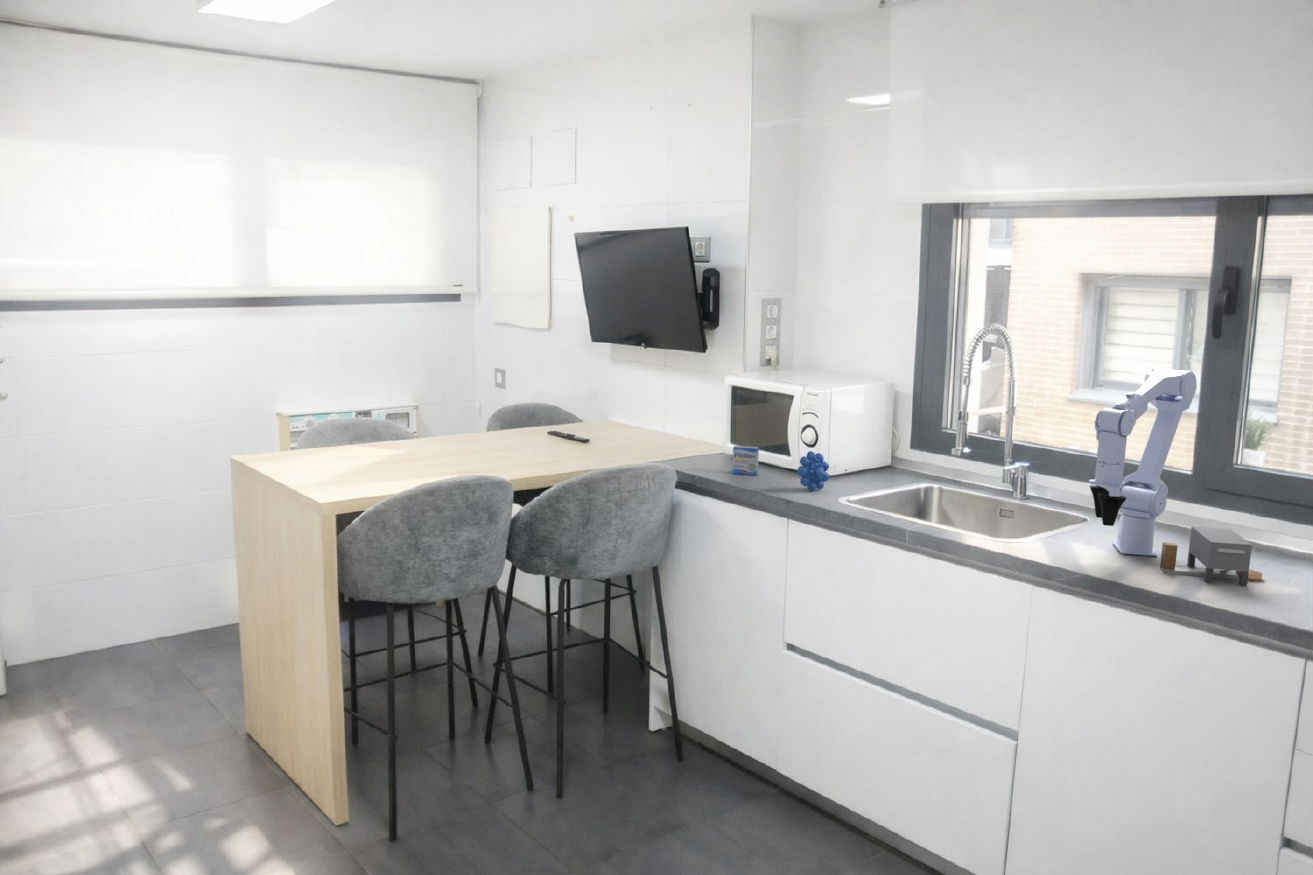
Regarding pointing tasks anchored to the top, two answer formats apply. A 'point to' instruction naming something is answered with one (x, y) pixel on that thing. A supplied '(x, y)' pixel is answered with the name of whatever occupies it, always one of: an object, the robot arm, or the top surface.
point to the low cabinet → (1219, 551)
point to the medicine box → (745, 460)
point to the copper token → (1252, 575)
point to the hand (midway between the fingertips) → (1104, 521)
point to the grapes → (813, 471)
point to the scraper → (1169, 568)
